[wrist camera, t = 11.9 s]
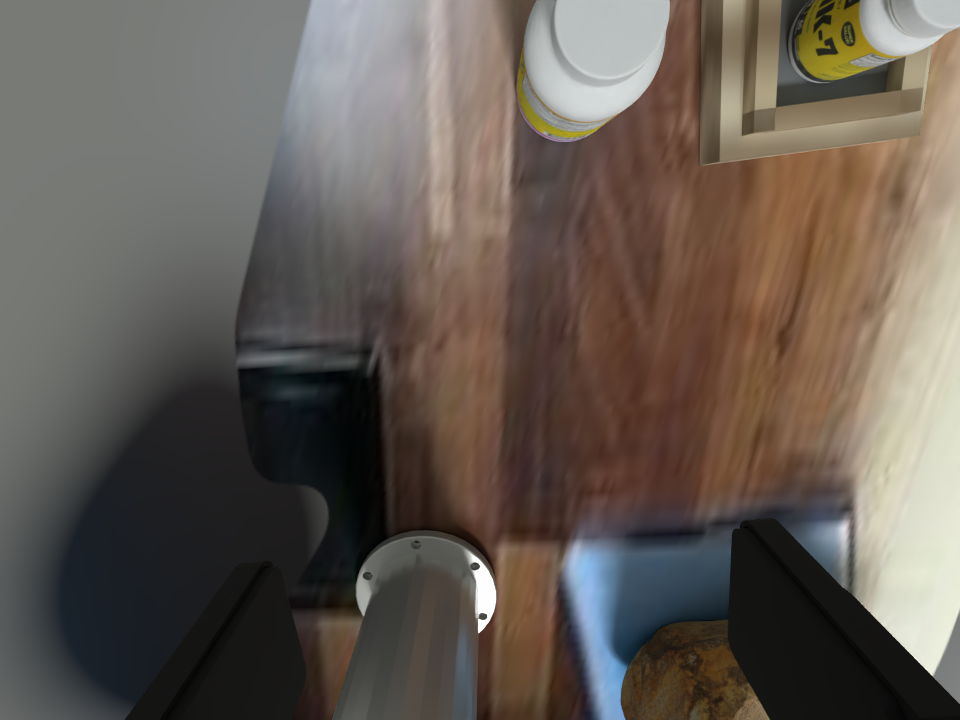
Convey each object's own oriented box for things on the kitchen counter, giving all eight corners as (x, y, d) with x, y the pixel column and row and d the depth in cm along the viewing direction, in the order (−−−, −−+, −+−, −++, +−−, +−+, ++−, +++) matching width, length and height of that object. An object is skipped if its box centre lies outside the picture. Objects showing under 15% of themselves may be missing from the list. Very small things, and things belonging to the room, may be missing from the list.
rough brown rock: (897, 596, 44) (1095, 764, 30) (828, 737, 48) (975, 949, 33) (654, 540, 44) (733, 682, 29) (602, 687, 47) (650, 879, 33)
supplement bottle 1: (575, 5, 30) (634, -135, 18) (636, 94, 32) (730, 21, 19) (493, 83, 32) (497, 3, 19) (555, 165, 33) (595, 140, 21)
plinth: (881, 141, 32) (940, 131, 28) (699, 165, 33) (730, 159, 29) (906, -76, 29) (978, -125, 24) (701, -45, 29) (737, -87, 25)
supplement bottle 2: (792, -9, 27) (920, -100, 19) (877, -13, 27) (1042, -106, 19) (778, 87, 28) (892, 39, 20) (859, 84, 28) (1005, 35, 20)
